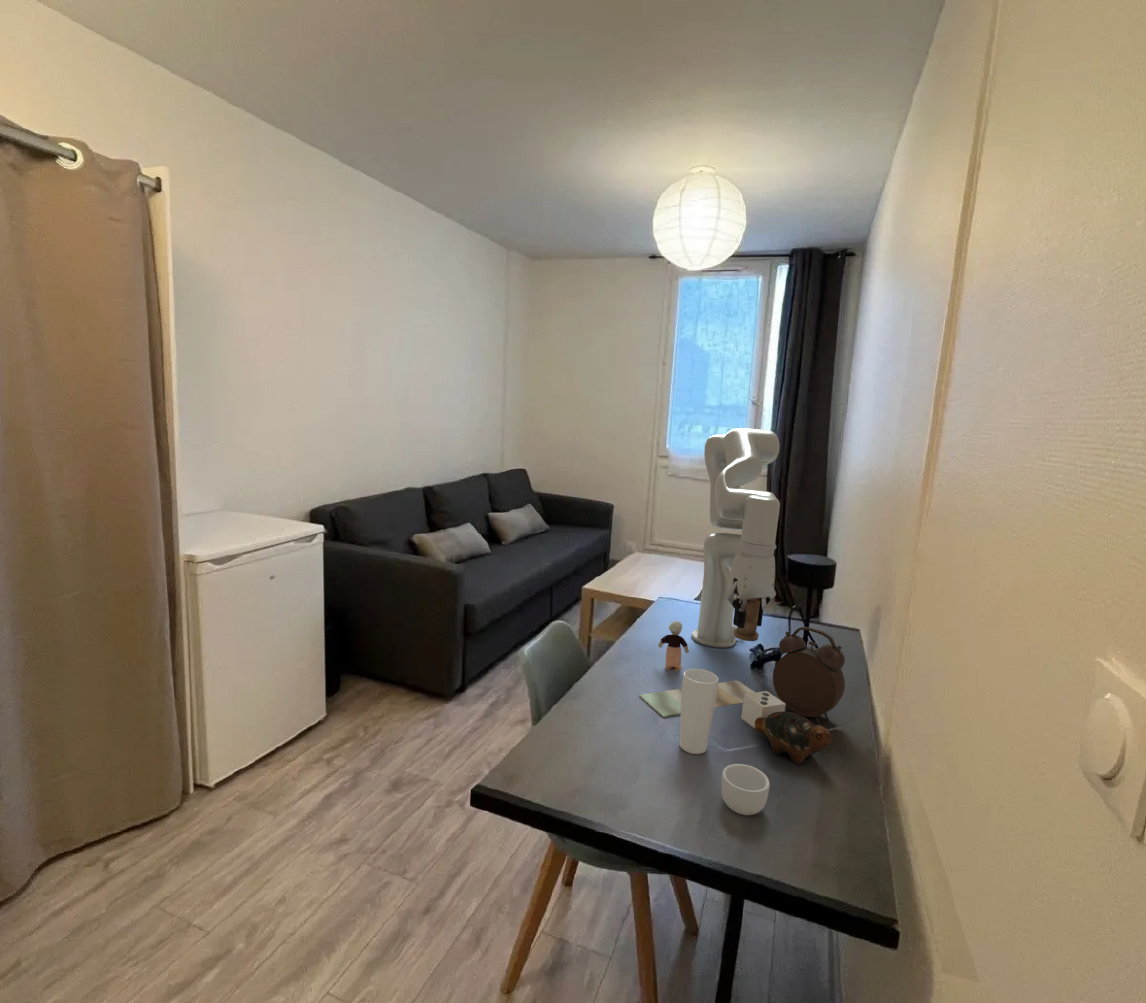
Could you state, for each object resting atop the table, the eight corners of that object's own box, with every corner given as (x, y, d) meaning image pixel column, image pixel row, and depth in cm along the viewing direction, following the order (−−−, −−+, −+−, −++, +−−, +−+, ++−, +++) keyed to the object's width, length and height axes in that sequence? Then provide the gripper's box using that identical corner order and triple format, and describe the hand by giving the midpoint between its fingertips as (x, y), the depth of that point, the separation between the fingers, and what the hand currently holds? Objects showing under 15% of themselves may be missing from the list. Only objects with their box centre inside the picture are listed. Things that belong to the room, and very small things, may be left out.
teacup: (766, 827, 100) (770, 796, 99) (717, 815, 102) (721, 785, 101) (764, 791, 109) (768, 763, 108) (720, 781, 111) (723, 753, 110)
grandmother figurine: (685, 667, 160) (690, 620, 158) (687, 673, 156) (692, 625, 154) (655, 664, 160) (660, 617, 158) (656, 670, 157) (661, 622, 155)
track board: (736, 681, 153) (737, 680, 153) (764, 700, 145) (765, 698, 144) (639, 696, 142) (639, 694, 141) (663, 717, 133) (663, 716, 133)
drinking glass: (689, 760, 117) (698, 685, 115) (668, 742, 123) (676, 670, 121) (717, 753, 120) (726, 680, 118) (695, 736, 126) (703, 666, 124)
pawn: (747, 631, 149) (753, 581, 147) (763, 639, 144) (770, 588, 142) (728, 633, 147) (734, 582, 145) (744, 642, 142) (750, 589, 140)
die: (763, 716, 137) (766, 690, 136) (782, 730, 131) (785, 703, 130) (741, 720, 134) (744, 693, 133) (759, 734, 129) (763, 706, 128)
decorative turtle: (821, 779, 114) (823, 738, 113) (743, 750, 124) (745, 713, 123) (838, 756, 122) (840, 718, 120) (764, 731, 131) (765, 695, 130)
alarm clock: (842, 722, 137) (855, 635, 134) (830, 733, 132) (843, 643, 129) (779, 697, 147) (790, 616, 144) (765, 707, 141) (776, 622, 138)
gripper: (773, 544, 149) (763, 616, 152) (716, 546, 142) (707, 622, 145) (796, 552, 142) (786, 628, 145) (738, 554, 135) (728, 634, 138)
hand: (747, 624), depth 145 cm, fingers closed on pawn, 4 cm apart
